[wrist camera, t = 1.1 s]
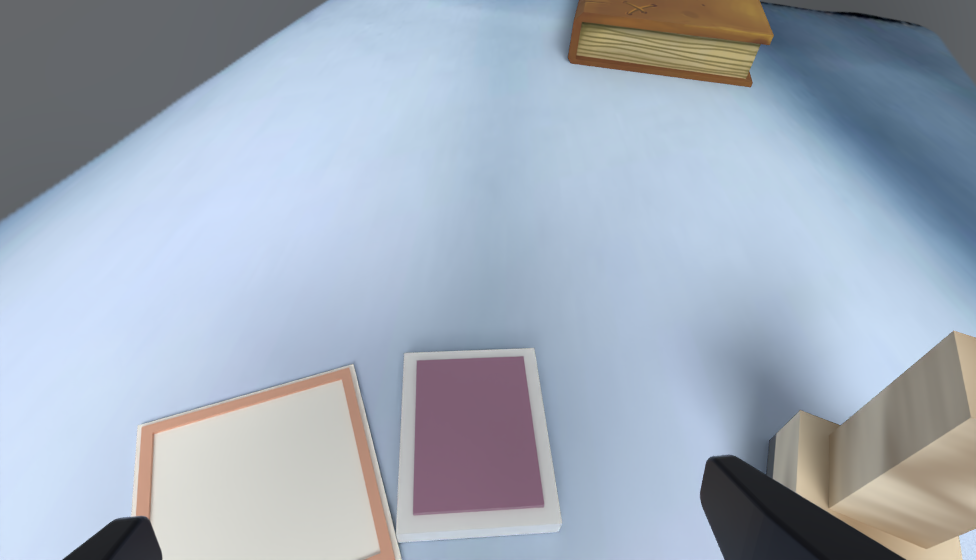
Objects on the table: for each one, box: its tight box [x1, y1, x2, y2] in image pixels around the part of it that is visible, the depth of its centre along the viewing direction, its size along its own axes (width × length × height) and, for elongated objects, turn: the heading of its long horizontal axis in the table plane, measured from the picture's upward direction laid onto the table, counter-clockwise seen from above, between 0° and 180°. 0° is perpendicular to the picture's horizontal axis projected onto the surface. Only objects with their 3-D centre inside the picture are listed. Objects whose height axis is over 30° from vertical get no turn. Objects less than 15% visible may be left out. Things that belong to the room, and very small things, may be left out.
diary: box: [568, 0, 774, 87], centre depth 59 cm, size 23×19×6 cm
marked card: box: [131, 364, 402, 560], centre depth 23 cm, size 10×10×1 cm
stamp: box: [766, 331, 976, 560], centre depth 20 cm, size 6×5×11 cm
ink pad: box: [396, 348, 562, 543], centre depth 25 cm, size 9×7×2 cm
